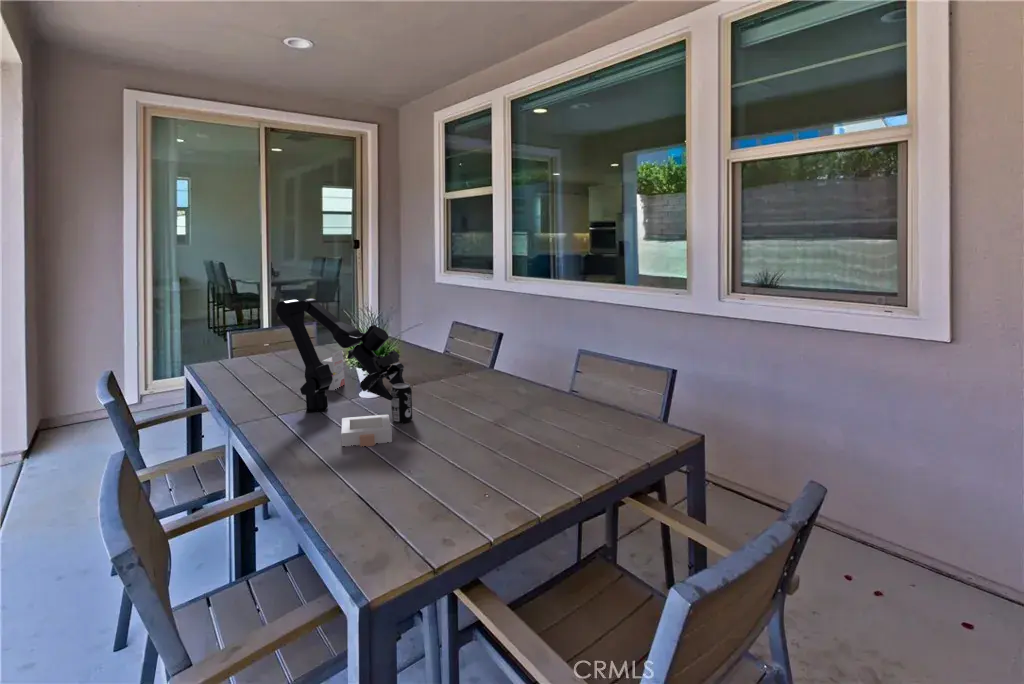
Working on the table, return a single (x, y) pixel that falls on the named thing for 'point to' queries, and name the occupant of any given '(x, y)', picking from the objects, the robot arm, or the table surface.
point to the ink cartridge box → (336, 369)
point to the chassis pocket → (366, 430)
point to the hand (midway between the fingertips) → (399, 395)
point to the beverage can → (401, 403)
